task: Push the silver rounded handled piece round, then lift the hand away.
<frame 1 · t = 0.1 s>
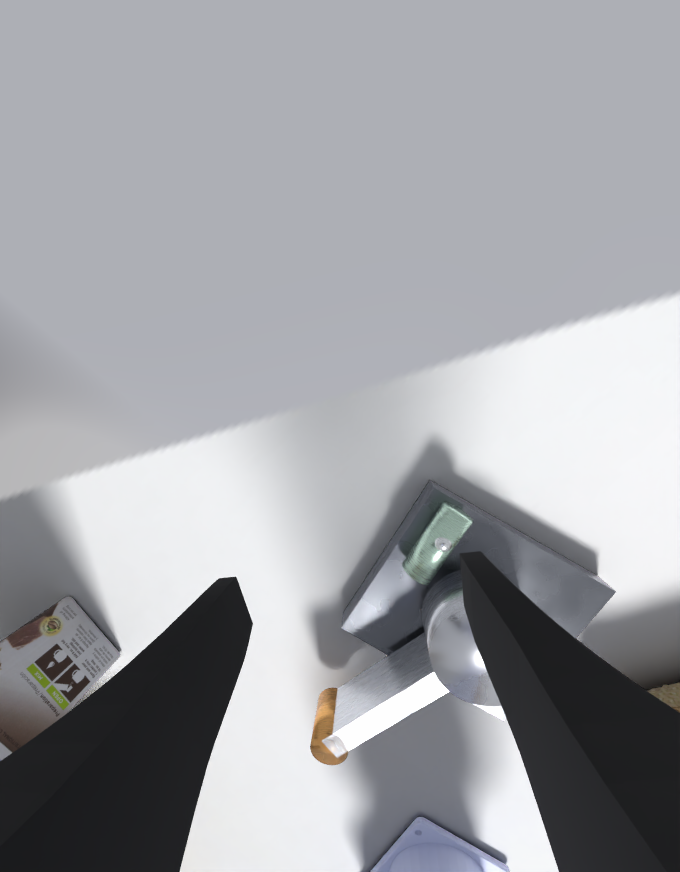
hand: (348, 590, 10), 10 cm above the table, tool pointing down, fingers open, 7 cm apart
coffee box: (61, 648, 26), on the table
silver rounded handled piece: (415, 674, 19), point 3 cm above the table, hinge at 0.0°
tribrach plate: (464, 595, 21), on the table
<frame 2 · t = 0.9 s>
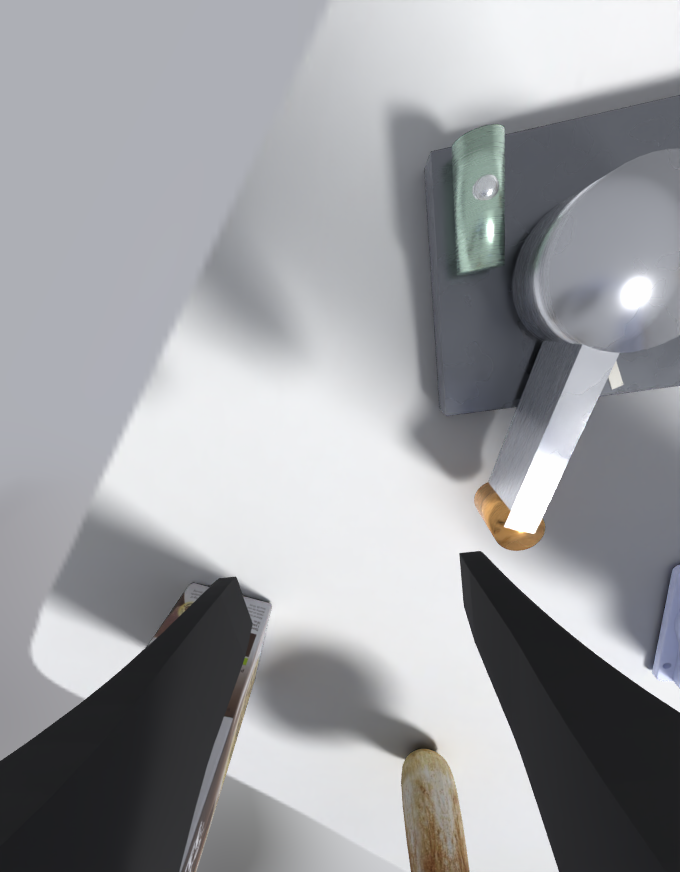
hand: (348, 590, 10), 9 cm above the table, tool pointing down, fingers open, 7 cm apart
coffee box: (224, 633, 25), on the table
decorative mushroom: (424, 749, 27), on the table
silver rounded handled piece: (562, 385, 14), point 3 cm above the table, hinge at 0.0°
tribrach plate: (562, 279, 15), on the table
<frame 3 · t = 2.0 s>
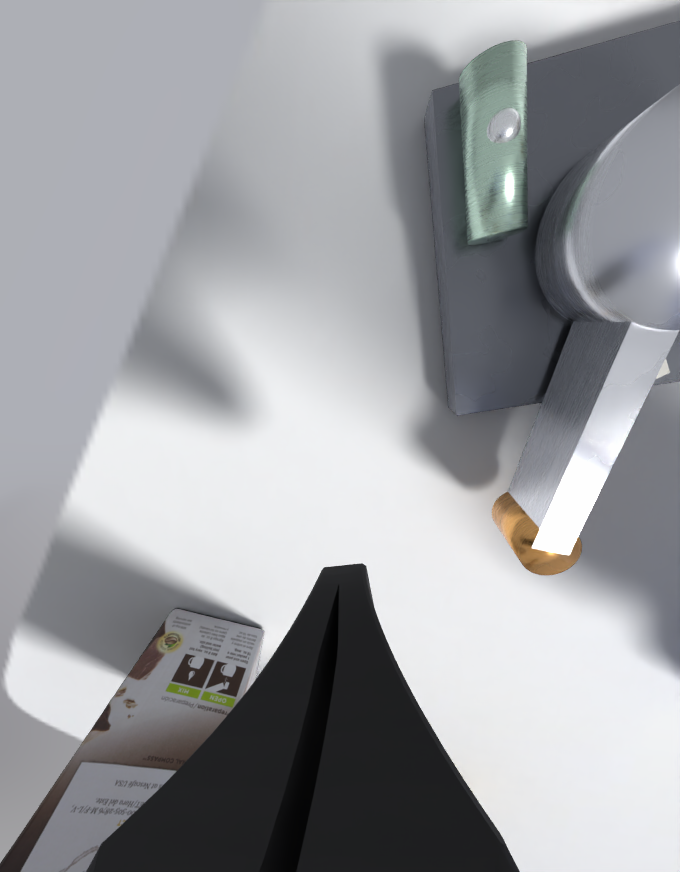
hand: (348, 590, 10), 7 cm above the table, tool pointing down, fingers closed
coffee box: (213, 661, 22), on the table
silver rounded handled piece: (600, 375, 11), point 3 cm above the table, hinge at 0.0°
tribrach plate: (592, 248, 13), on the table
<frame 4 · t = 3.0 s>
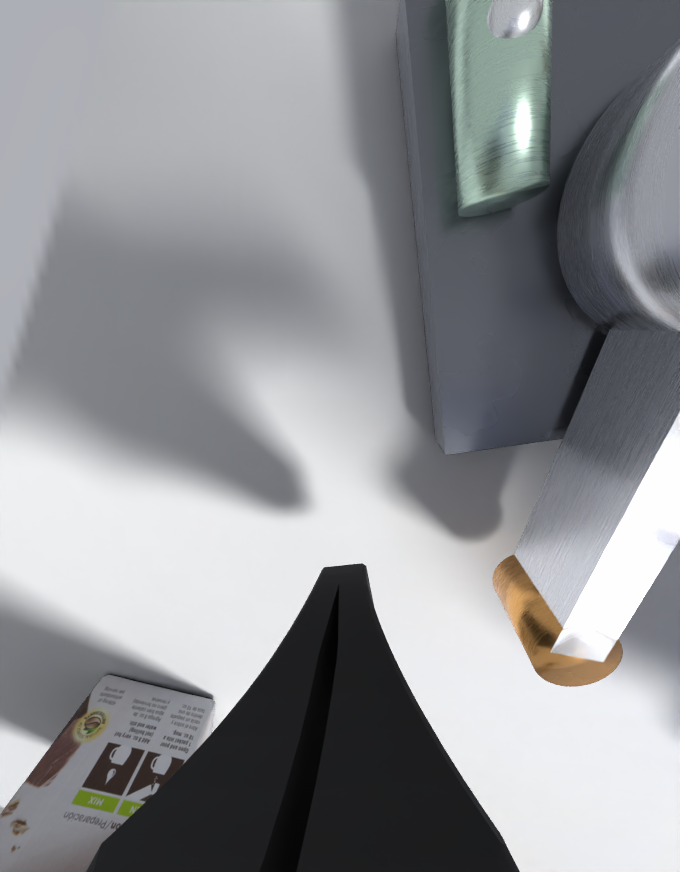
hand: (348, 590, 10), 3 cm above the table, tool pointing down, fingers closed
coffee box: (159, 732, 19), on the table
silver rounded handled piece: (654, 408, 8), point 3 cm above the table, hinge at 0.0°
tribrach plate: (633, 226, 9), on the table
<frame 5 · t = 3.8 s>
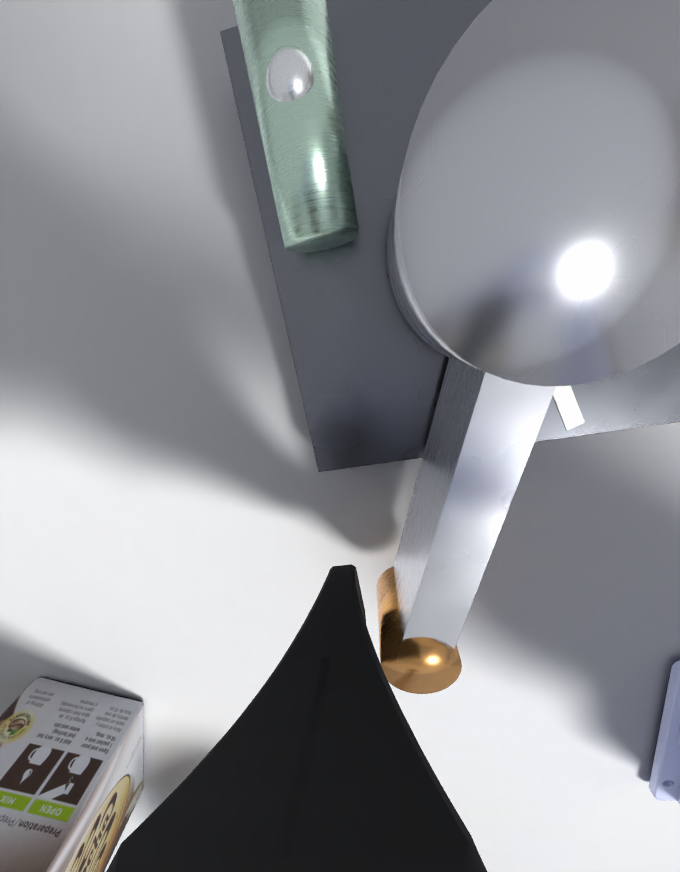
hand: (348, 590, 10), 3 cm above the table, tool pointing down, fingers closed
coffee box: (96, 733, 19), on the table
silver rounded handled piece: (474, 434, 8), point 3 cm above the table, hinge at 0.4°, touching gripper
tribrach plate: (484, 257, 10), on the table
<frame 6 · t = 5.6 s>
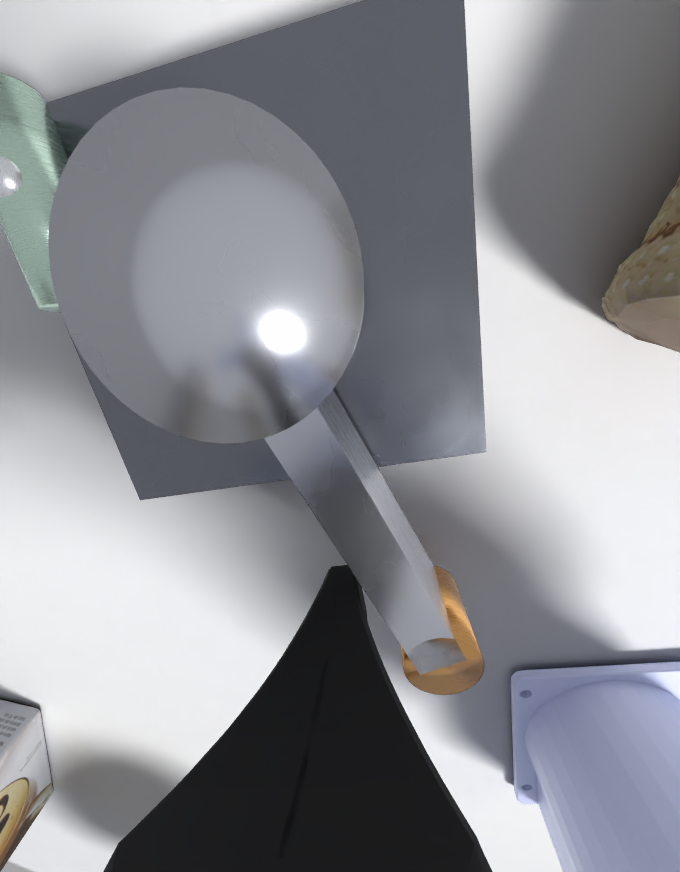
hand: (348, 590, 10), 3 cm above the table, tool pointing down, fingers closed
coffee box: (4, 737, 20), on the table
silver rounded handled piece: (332, 459, 9), point 3 cm above the table, hinge at 39.0°, touching gripper
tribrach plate: (272, 307, 11), on the table
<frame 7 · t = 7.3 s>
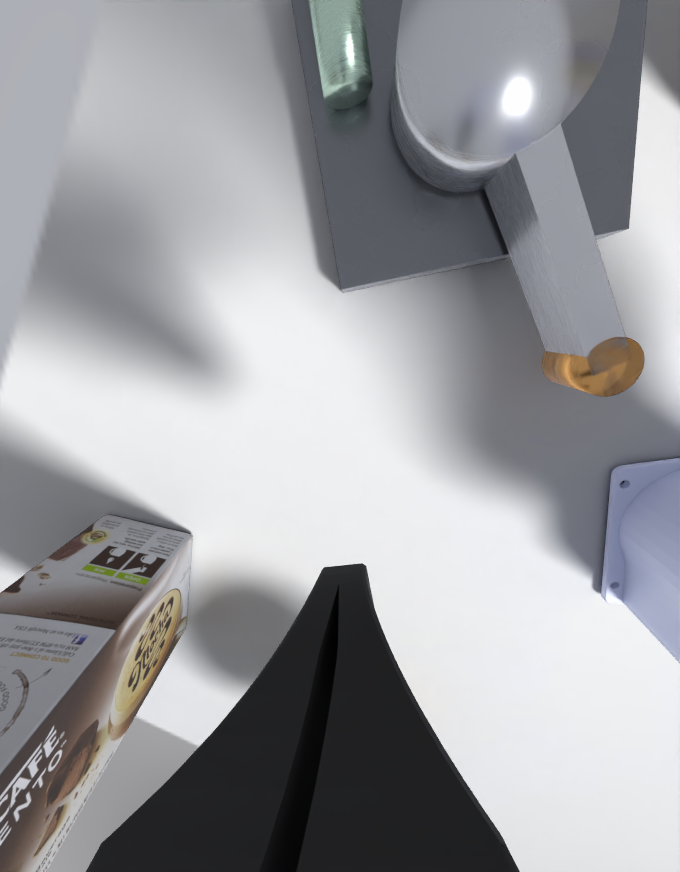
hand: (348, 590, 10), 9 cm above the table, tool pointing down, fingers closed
coffee box: (149, 573, 23), on the table
silver rounded handled piece: (534, 205, 12), point 3 cm above the table, hinge at 39.3°
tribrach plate: (458, 124, 14), on the table
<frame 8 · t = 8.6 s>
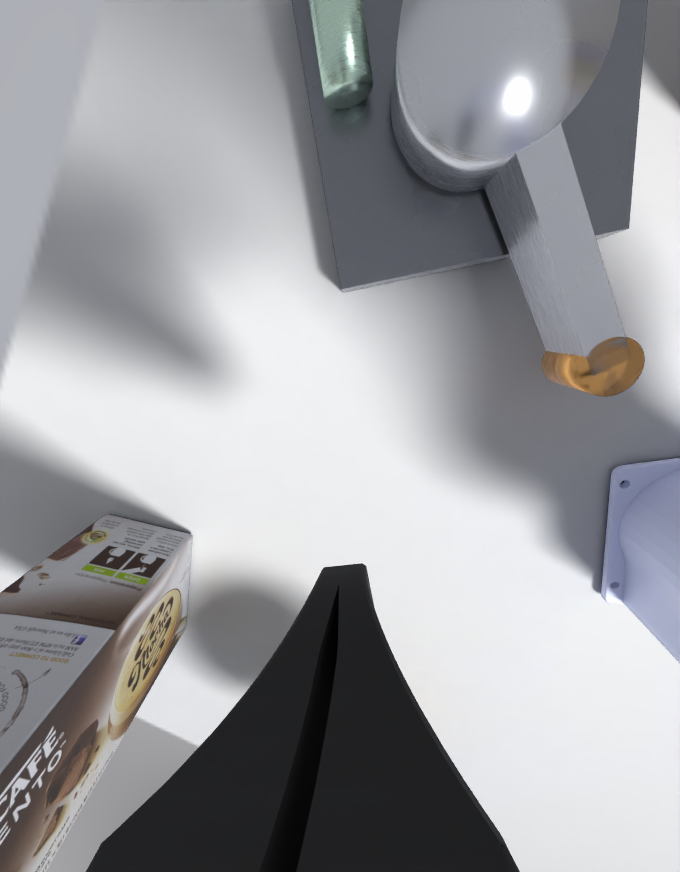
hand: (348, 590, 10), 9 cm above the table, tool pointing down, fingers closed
coffee box: (149, 572, 23), on the table
silver rounded handled piece: (535, 205, 12), point 3 cm above the table, hinge at 39.3°
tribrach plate: (458, 124, 14), on the table
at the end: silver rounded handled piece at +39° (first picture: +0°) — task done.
